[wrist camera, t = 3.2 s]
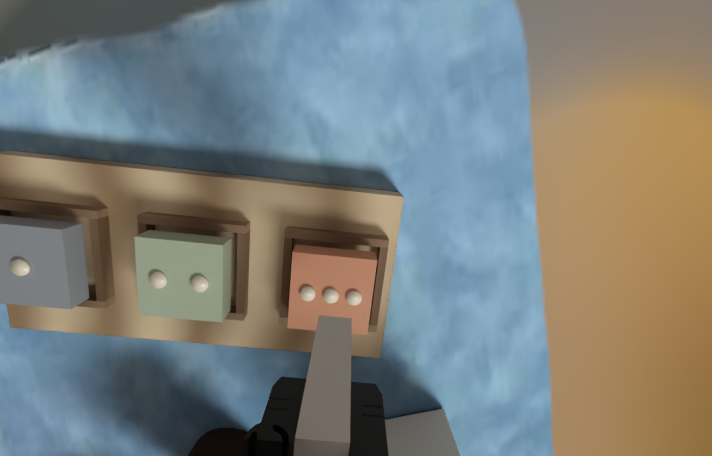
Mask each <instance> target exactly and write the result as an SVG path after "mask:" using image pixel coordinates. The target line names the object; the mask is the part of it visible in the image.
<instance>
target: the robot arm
mask: <svg viewBox="0 0 712 456" xmlns="http://www.w3.org/2000/svg"><path fill="white" fill-rule="evenodd" d="M351 331H352V318H344V317H333V316H323V315H319V318H318V323H317V328H316V333H315V338H314V343H313V348H312V353H311V359H310V364H309V369H308V374H307V379H302V378H291V377H281V378H280V379H279V380H278V381H277V382H276V383H275V384H274V385H273V387H272V390H271V393H270V396H269V400H268V403H267V406H266V409H265V412H264V415H263V418H262V421H261V423H259V424H257V425H255V426H254V427H253V428H251V429H250V430H249V431H248V433H247V434H246V436H245V438H244V453H243V456H389V454H388V445H387V436H386V427H385V418H384V409H383V399H382V394H381V392H380V391H379V389H378V387H377V386H376V384H368V383H357V382H351Z"/></svg>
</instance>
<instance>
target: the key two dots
mask: <svg viewBox="0 0 712 456" xmlns="http://www.w3.org/2000/svg"><path fill="white" fill-rule="evenodd" d="M134 240H135V257H136V274H137V291H138V308H139V315H142V316H154V317H165V318H177V319H188V320H200V321H211V322H223V320H224V319H225V318H226V316H227V315H228V313H229V312H230V302H231V245H232V238H227V237H217V236H207V235H196V234H186V233H176V232H166V231H156V230H148V231H146V232H144V233H141V234H139V235H137V236H135V237H134Z"/></svg>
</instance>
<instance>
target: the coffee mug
mask: <svg viewBox="0 0 712 456" xmlns="http://www.w3.org/2000/svg"><path fill="white" fill-rule="evenodd" d="M247 433H248V432H245V431H243V430H239V429H235V428H219V429H215V430H212V431H210V432H208V433H206V434H204V435H203V436H202V437H201V438H200V439H199V440H198V441H197V442H196V444H195V445H194V447H193V448H192V450H191V451H190V453H189V454H188V456H243V453H244V438H245V436H246V434H247Z"/></svg>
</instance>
